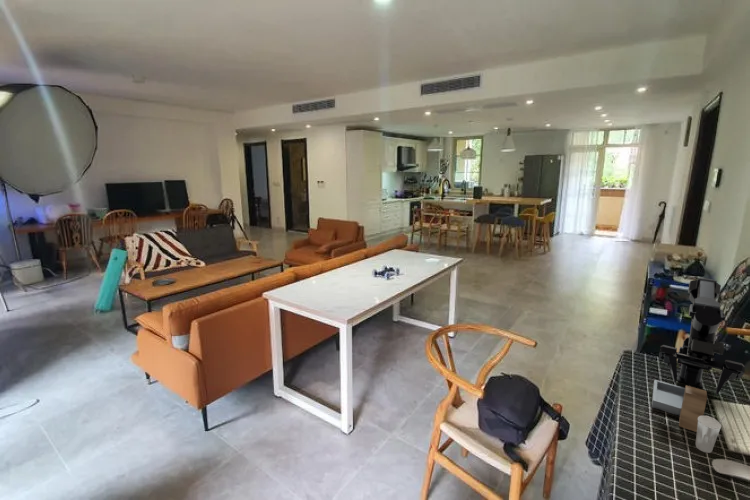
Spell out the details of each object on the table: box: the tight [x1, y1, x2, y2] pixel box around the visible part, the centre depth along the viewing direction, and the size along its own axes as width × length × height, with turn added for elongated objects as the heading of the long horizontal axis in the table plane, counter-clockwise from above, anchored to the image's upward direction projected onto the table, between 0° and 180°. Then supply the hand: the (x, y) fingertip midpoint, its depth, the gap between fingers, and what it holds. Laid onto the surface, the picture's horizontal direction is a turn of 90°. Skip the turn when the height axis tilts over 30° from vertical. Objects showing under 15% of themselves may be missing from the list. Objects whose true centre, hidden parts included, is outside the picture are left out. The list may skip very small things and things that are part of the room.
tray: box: [651, 379, 685, 417], centre depth 116 cm, size 14×10×2 cm
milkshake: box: [695, 415, 726, 454], centre depth 96 cm, size 4×5×10 cm
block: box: [678, 384, 708, 433], centre depth 104 cm, size 4×4×11 cm
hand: (695, 388), depth 106 cm, fingers open, 9 cm apart
